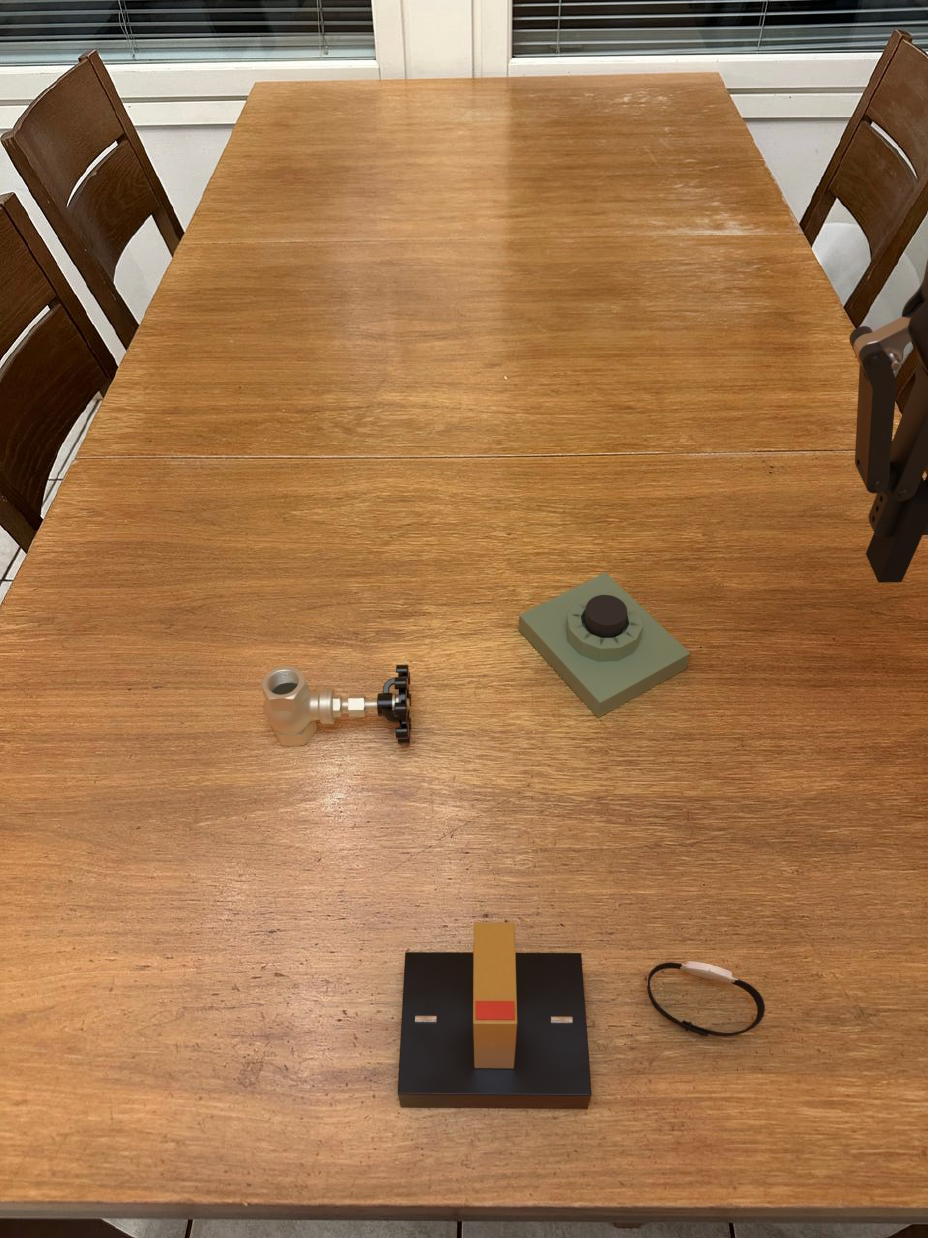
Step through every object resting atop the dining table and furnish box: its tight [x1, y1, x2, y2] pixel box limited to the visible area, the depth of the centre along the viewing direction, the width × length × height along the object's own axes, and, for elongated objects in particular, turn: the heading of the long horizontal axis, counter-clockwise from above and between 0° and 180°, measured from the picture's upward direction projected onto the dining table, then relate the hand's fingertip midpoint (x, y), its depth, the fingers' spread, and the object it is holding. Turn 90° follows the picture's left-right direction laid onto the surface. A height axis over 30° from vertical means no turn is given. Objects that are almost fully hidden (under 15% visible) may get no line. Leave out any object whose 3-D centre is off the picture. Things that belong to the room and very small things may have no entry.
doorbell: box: [518, 572, 691, 719], centre depth 85 cm, size 12×10×4 cm
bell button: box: [584, 595, 627, 638], centre depth 83 cm, size 4×4×2 cm
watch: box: [646, 960, 766, 1038], centre depth 63 cm, size 8×5×4 cm, turn 74°
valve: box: [259, 664, 413, 747], centre depth 78 cm, size 7×7×12 cm
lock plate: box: [397, 951, 593, 1110], centre depth 62 cm, size 12×9×3 cm
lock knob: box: [472, 922, 517, 1068], centre depth 58 cm, size 6×2×8 cm, turn 0°
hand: (883, 567), depth 61 cm, fingers closed
